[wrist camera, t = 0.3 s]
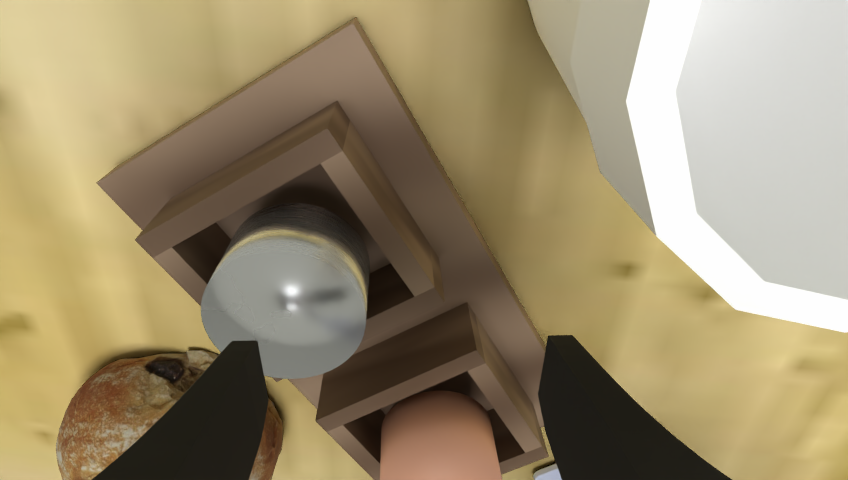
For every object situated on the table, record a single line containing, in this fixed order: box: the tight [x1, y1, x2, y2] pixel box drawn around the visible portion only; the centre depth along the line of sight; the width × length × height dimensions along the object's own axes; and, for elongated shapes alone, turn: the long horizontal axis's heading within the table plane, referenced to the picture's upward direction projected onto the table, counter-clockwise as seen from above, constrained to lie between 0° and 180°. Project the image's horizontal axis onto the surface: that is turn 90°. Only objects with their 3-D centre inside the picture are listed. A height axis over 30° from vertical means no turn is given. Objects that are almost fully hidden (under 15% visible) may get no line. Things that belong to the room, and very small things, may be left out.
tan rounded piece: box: [380, 391, 502, 480], centre depth 21 cm, size 5×5×3 cm
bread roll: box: [56, 350, 283, 480], centre depth 25 cm, size 10×10×8 cm
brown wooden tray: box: [97, 18, 549, 480], centre depth 22 cm, size 21×11×4 cm, turn 29°
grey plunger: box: [201, 203, 370, 379], centre depth 17 cm, size 5×5×3 cm
